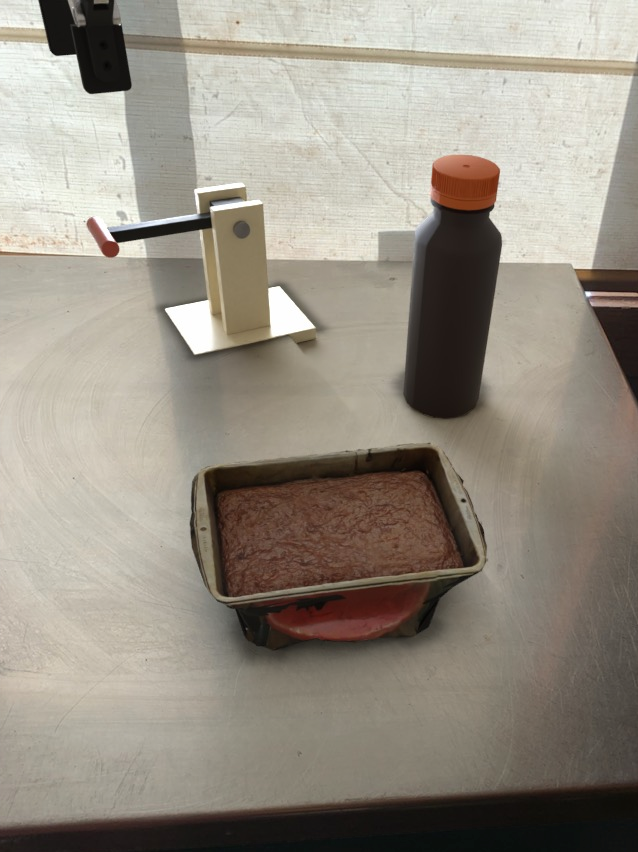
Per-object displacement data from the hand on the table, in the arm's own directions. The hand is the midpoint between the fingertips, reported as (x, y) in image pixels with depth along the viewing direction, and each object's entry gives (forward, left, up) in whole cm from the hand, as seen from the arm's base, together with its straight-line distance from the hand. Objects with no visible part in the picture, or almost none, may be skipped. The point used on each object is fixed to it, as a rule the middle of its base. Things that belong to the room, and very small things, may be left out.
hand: (89, 71), depth 57 cm
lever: (0, +4, -13) cm, 14 cm away
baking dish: (+34, +3, -23) cm, 42 cm away
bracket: (0, +9, -23) cm, 25 cm away
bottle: (+18, +21, -23) cm, 37 cm away
